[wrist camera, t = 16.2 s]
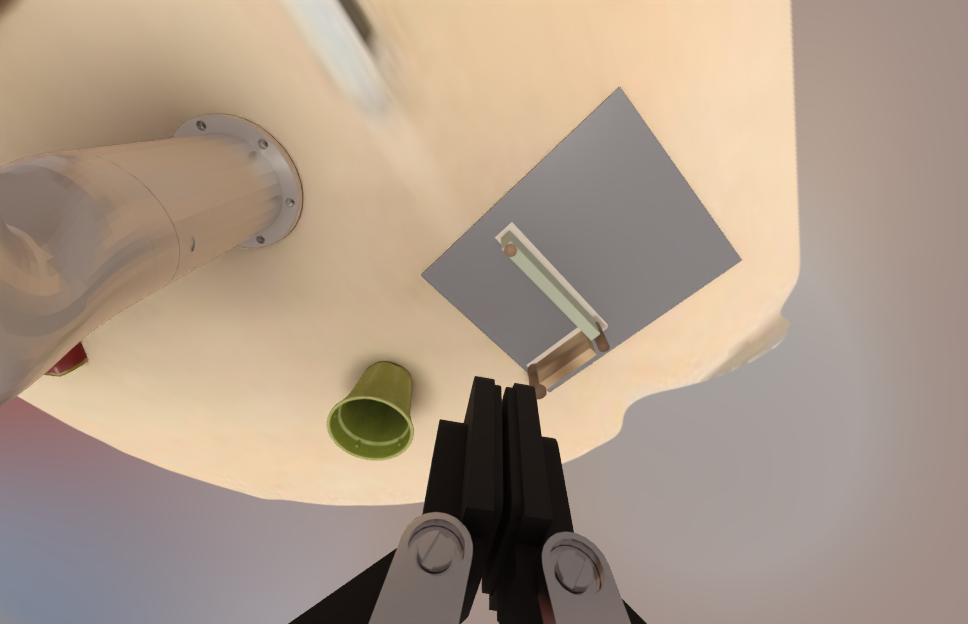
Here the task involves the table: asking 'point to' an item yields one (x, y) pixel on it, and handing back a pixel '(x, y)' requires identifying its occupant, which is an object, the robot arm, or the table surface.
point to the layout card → (587, 241)
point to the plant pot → (375, 415)
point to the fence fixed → (564, 361)
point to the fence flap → (548, 284)
